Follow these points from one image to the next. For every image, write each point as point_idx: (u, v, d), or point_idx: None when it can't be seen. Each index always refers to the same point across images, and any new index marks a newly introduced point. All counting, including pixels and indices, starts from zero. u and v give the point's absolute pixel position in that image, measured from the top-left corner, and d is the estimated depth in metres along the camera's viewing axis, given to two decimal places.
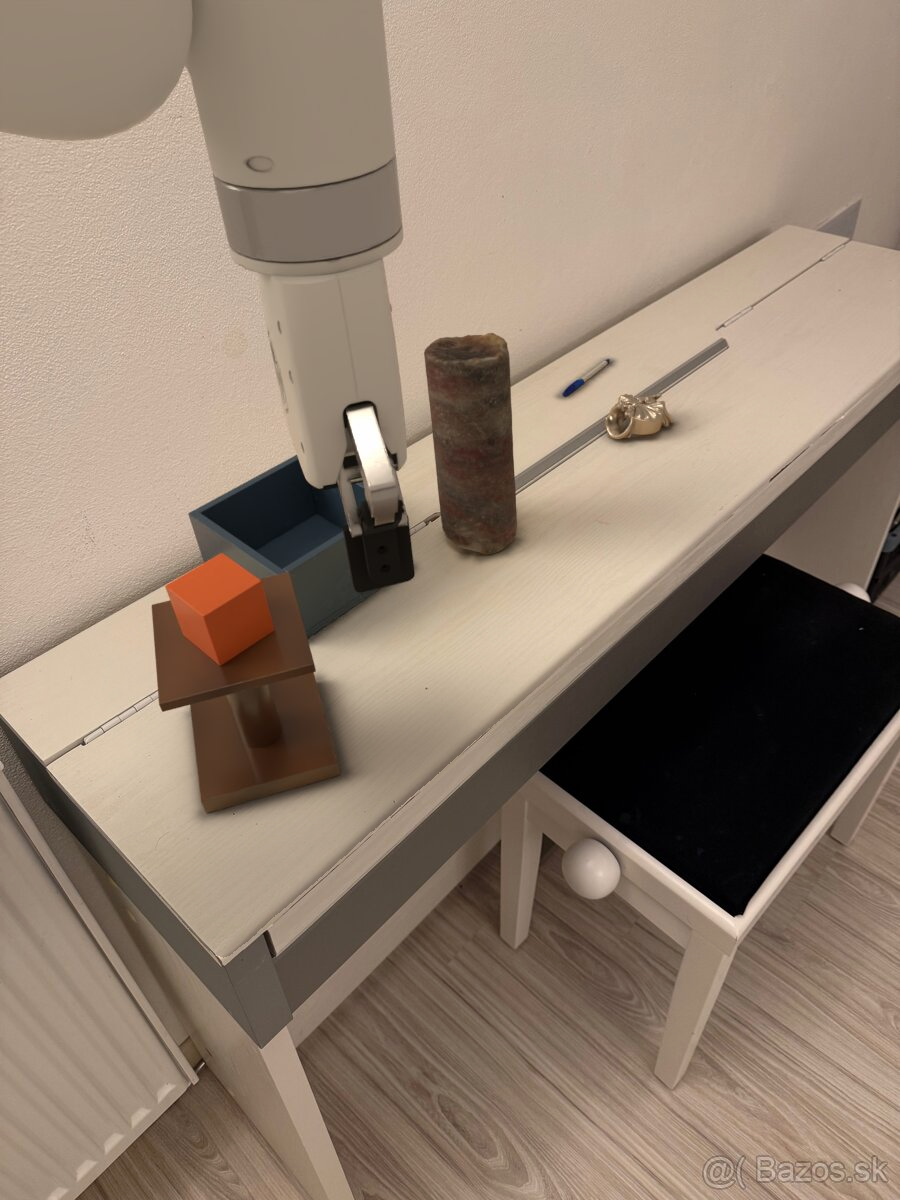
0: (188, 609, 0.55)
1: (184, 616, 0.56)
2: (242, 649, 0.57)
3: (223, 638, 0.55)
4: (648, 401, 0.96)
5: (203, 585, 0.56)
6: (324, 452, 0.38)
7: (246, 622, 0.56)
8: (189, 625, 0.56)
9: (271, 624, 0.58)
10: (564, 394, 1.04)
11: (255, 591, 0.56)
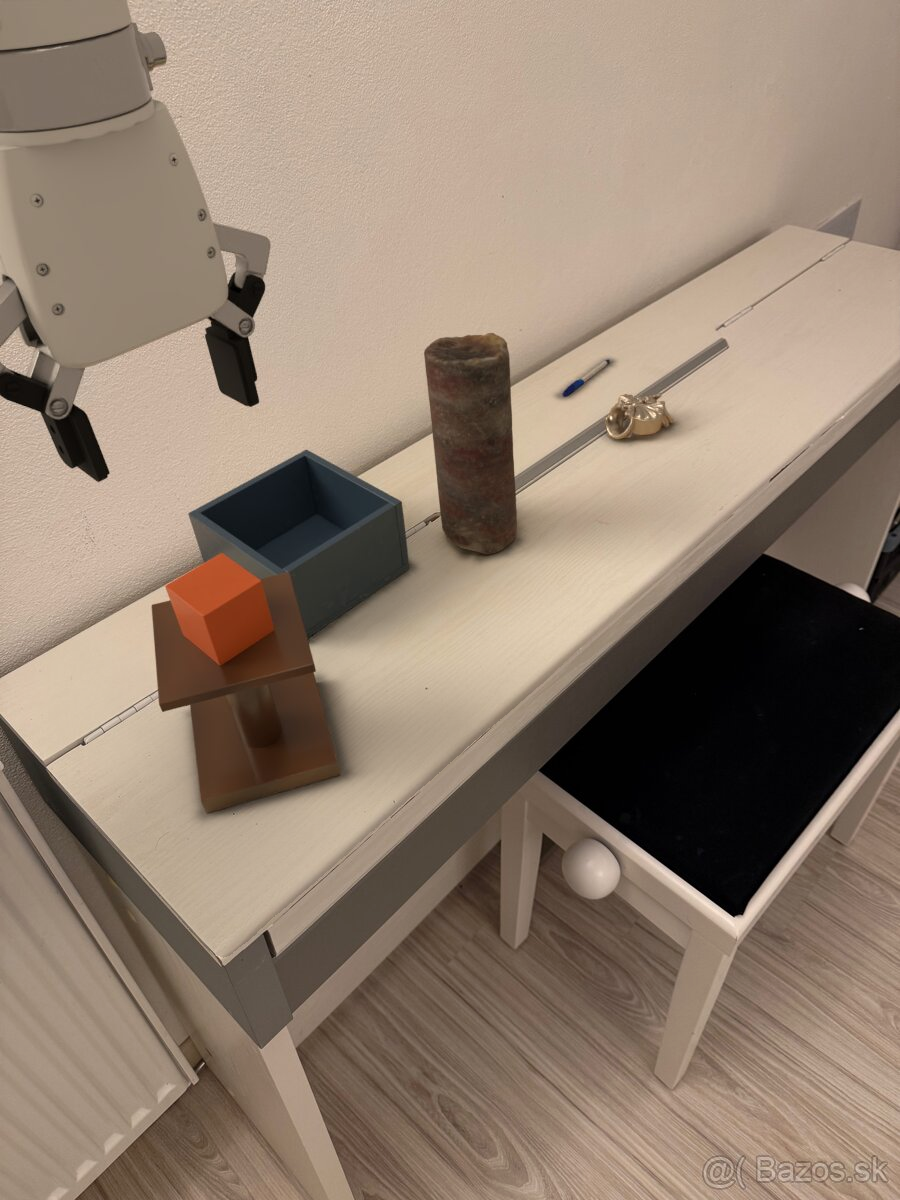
0: (188, 609, 0.55)
1: (184, 616, 0.56)
2: (242, 649, 0.57)
3: (223, 638, 0.55)
4: (648, 401, 0.96)
5: (203, 585, 0.56)
6: None
7: (246, 622, 0.56)
8: (189, 625, 0.56)
9: (271, 624, 0.58)
10: (564, 394, 1.04)
11: (255, 591, 0.56)
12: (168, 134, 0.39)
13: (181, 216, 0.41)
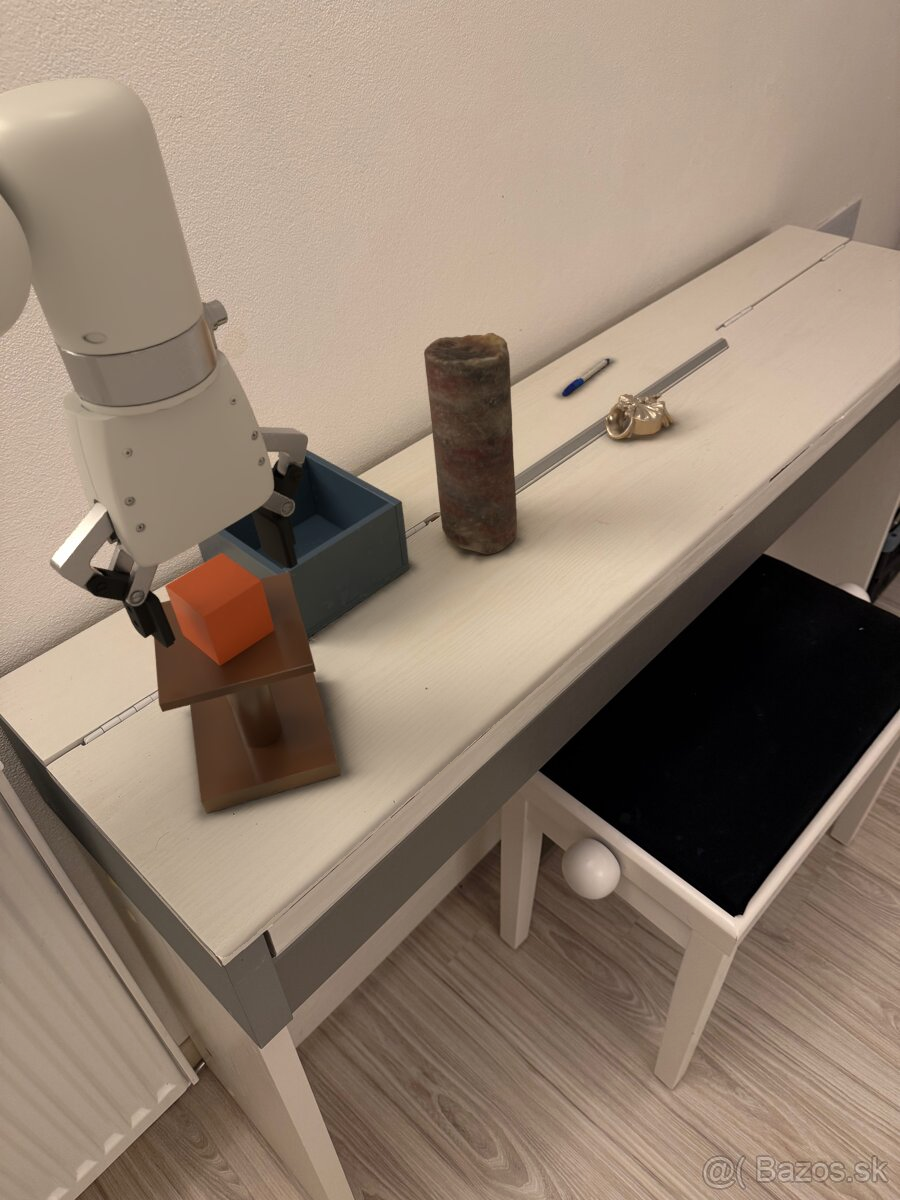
0: (188, 609, 0.55)
1: (184, 616, 0.56)
2: (242, 649, 0.57)
3: (223, 638, 0.55)
4: (648, 401, 0.96)
5: (203, 585, 0.56)
6: None
7: (246, 622, 0.56)
8: (189, 625, 0.56)
9: (271, 624, 0.58)
10: (564, 393, 1.04)
11: (255, 591, 0.56)
12: (229, 382, 0.47)
13: (238, 440, 0.49)
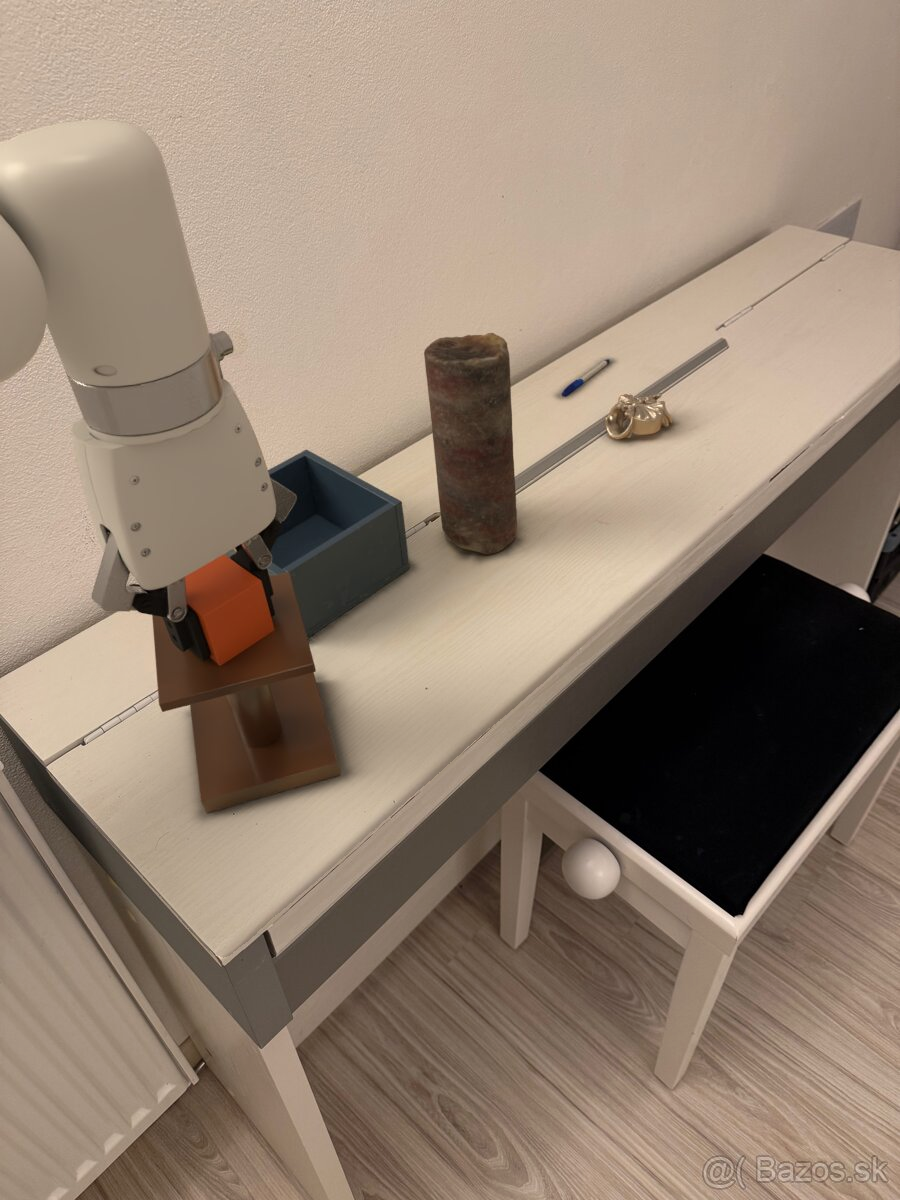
0: None
1: None
2: (242, 649, 0.57)
3: (223, 638, 0.55)
4: (648, 401, 0.96)
5: (203, 585, 0.56)
6: (100, 542, 0.50)
7: (246, 622, 0.56)
8: None
9: (271, 624, 0.58)
10: (563, 394, 1.04)
11: (255, 591, 0.56)
12: (234, 411, 0.48)
13: (242, 467, 0.50)
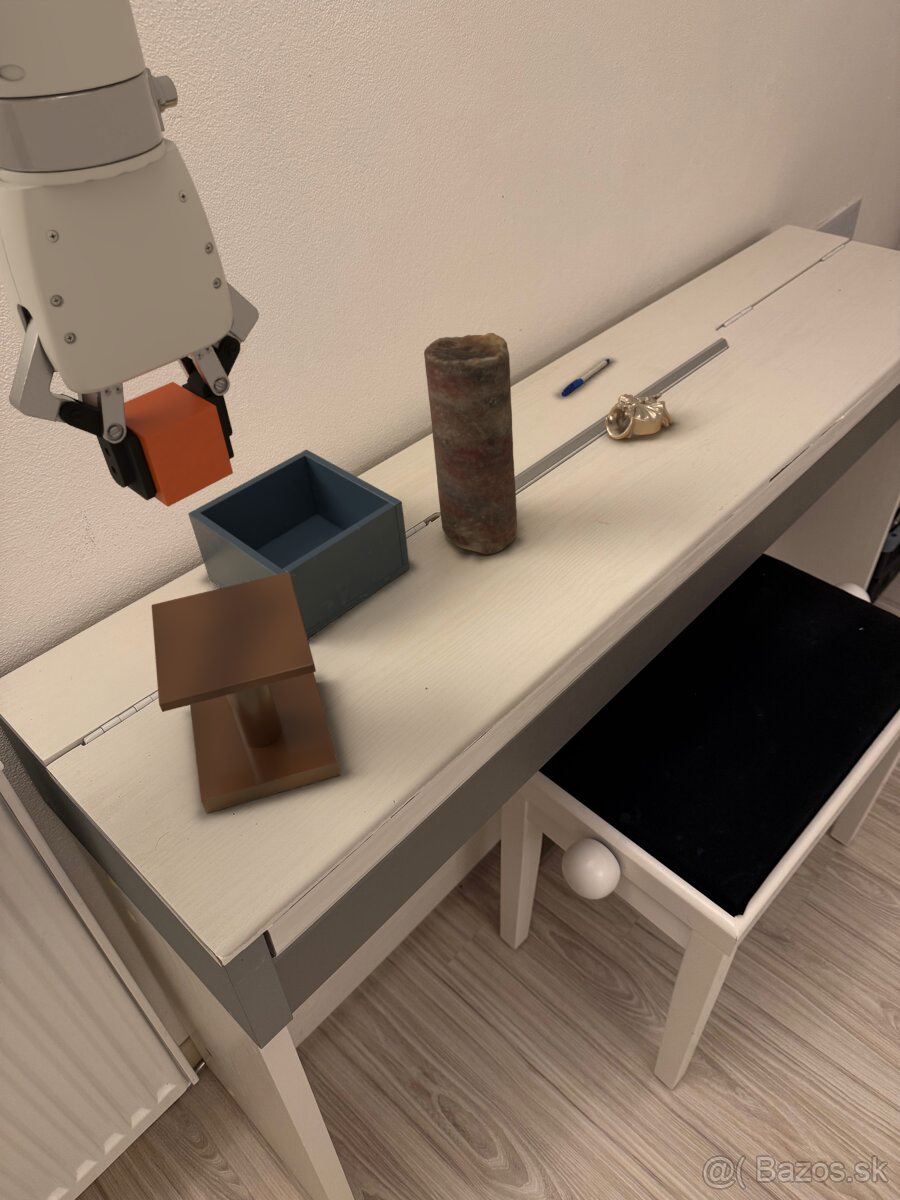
0: None
1: None
2: (194, 490, 0.49)
3: (171, 472, 0.48)
4: (648, 401, 0.96)
5: (148, 410, 0.48)
6: (21, 337, 0.43)
7: (198, 456, 0.49)
8: None
9: (229, 464, 0.50)
10: (563, 394, 1.04)
11: (208, 418, 0.48)
12: (178, 172, 0.41)
13: (189, 249, 0.43)
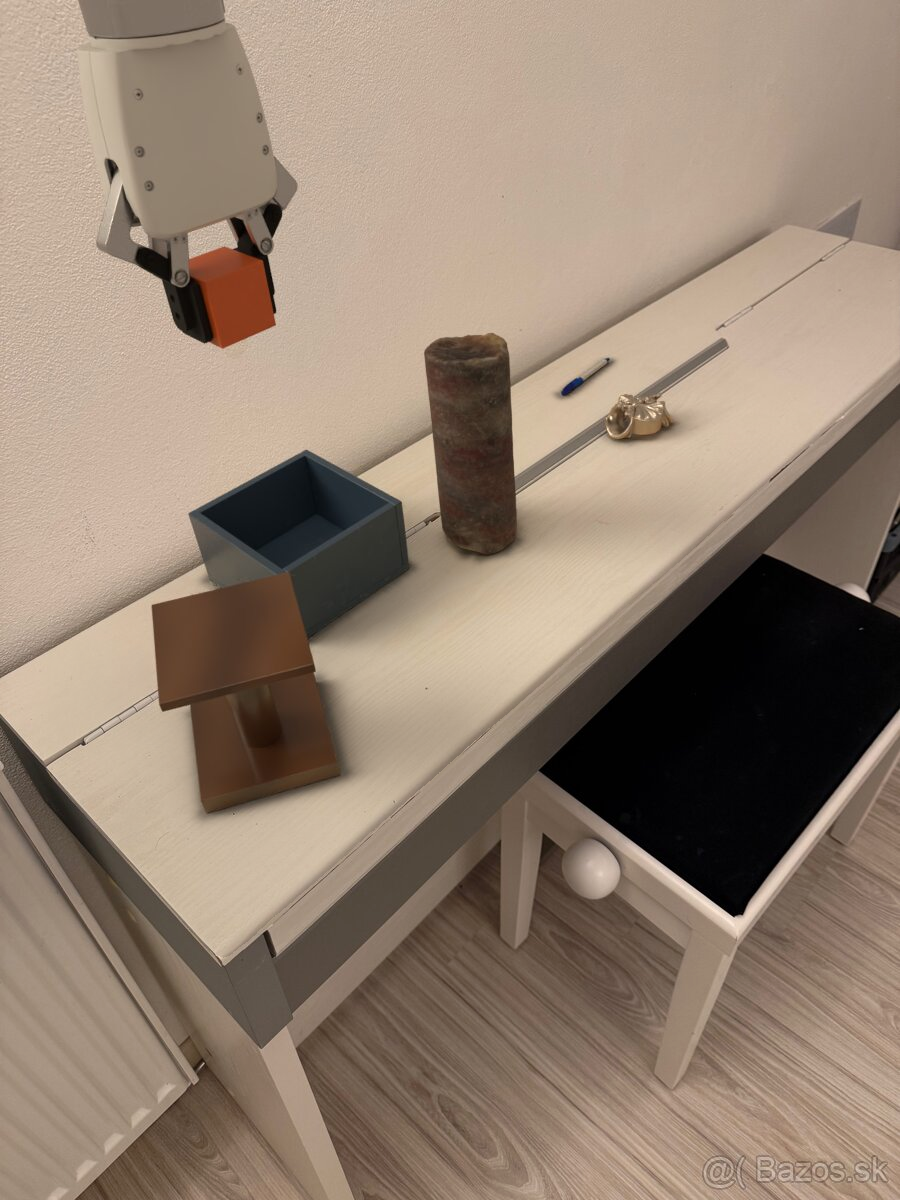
0: None
1: None
2: (244, 336, 0.58)
3: (226, 316, 0.56)
4: (648, 401, 0.96)
5: (206, 265, 0.57)
6: (105, 192, 0.52)
7: (248, 306, 0.57)
8: None
9: (272, 317, 0.59)
10: (563, 392, 1.04)
11: (257, 271, 0.57)
12: (236, 48, 0.49)
13: (244, 117, 0.51)
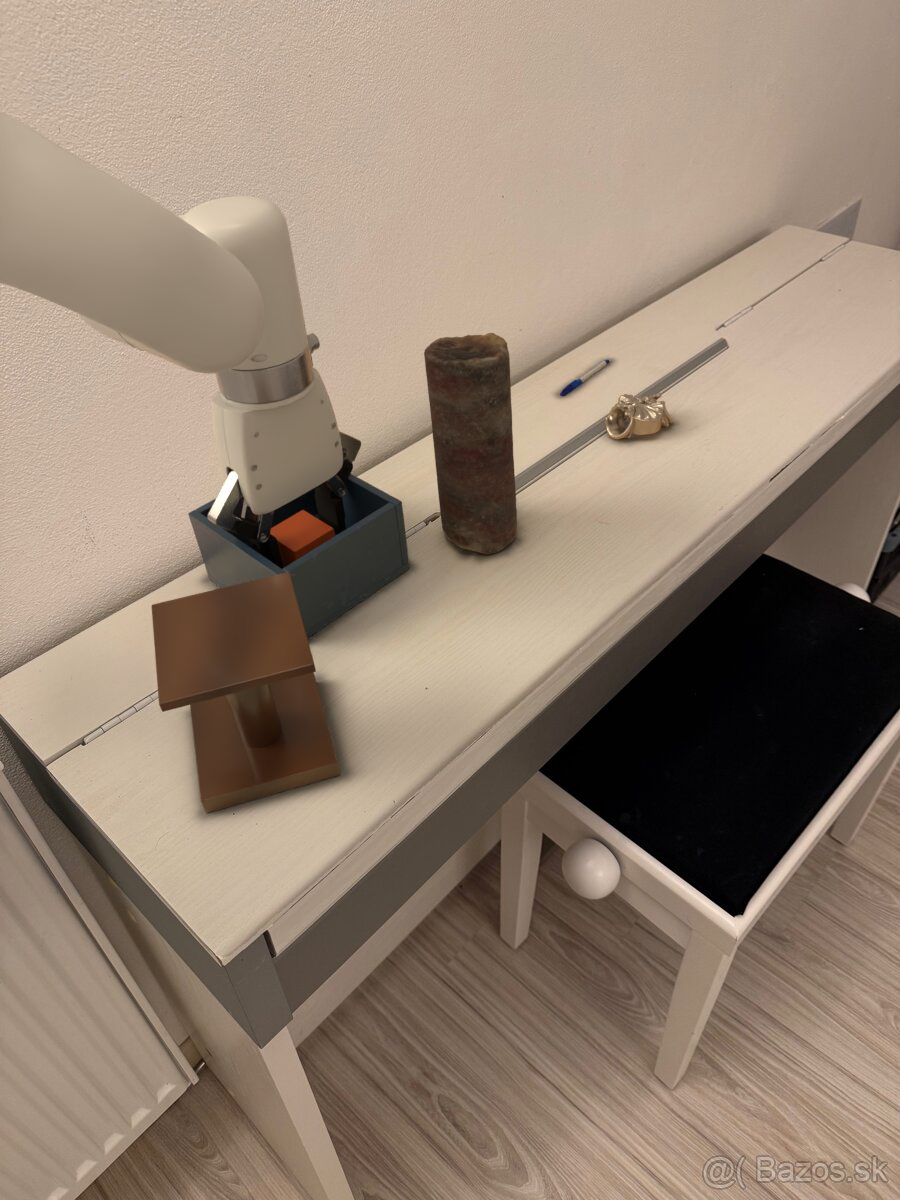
0: (282, 548, 0.77)
1: None
2: None
3: None
4: (648, 401, 0.96)
5: (292, 531, 0.78)
6: (223, 481, 0.72)
7: None
8: None
9: None
10: (561, 394, 1.04)
11: (329, 535, 0.78)
12: (320, 389, 0.70)
13: (323, 429, 0.72)
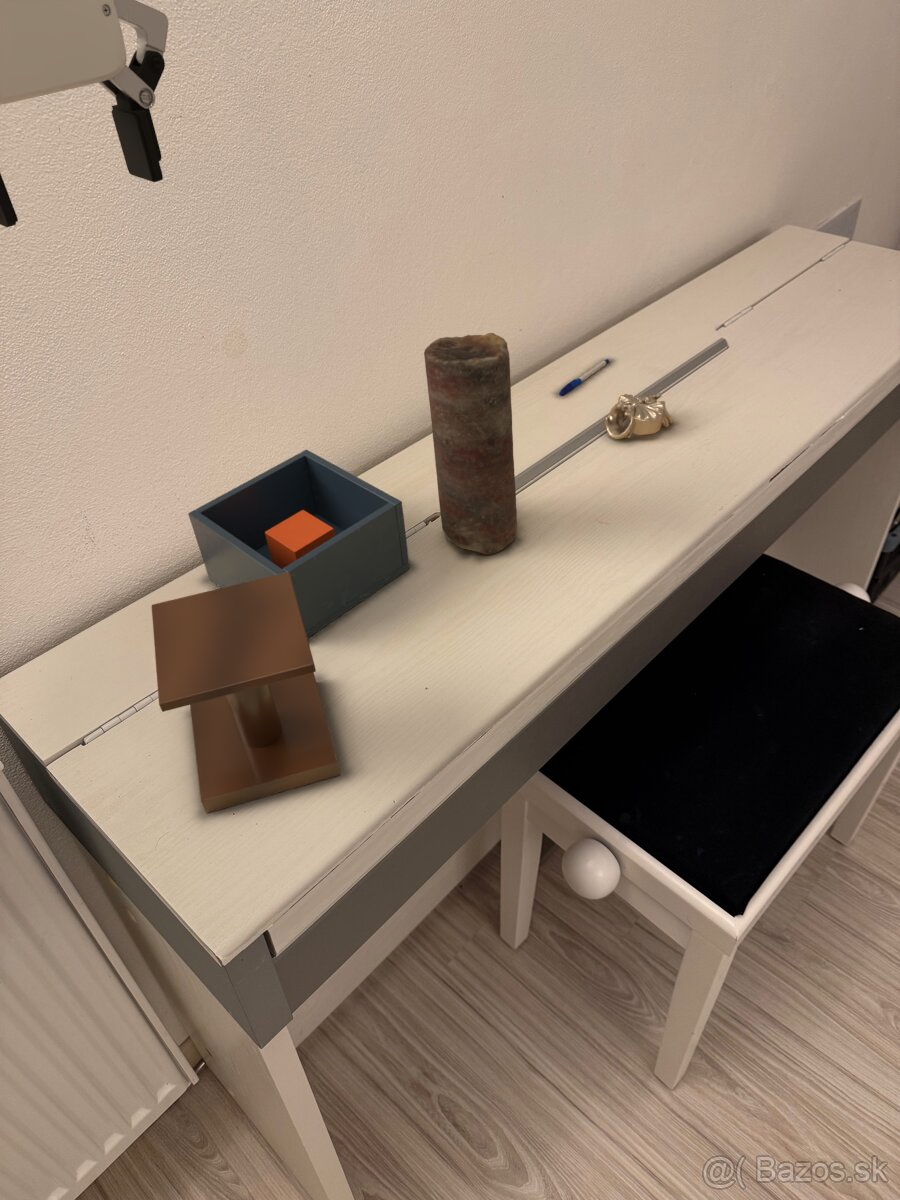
0: (282, 548, 0.77)
1: (277, 554, 0.79)
2: None
3: None
4: (648, 401, 0.96)
5: (292, 531, 0.78)
6: None
7: None
8: (281, 560, 0.79)
9: None
10: (561, 393, 1.04)
11: (329, 535, 0.78)
12: None
13: None
